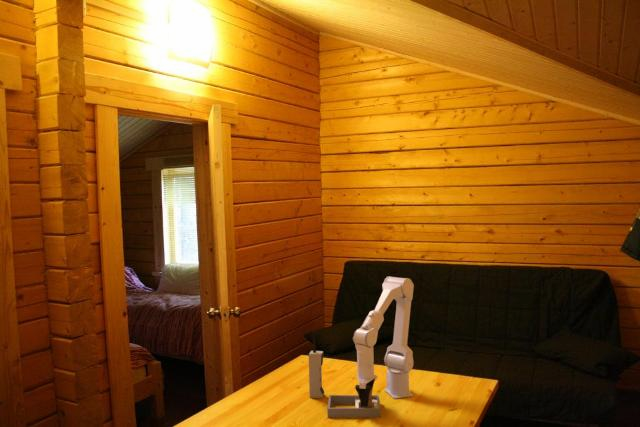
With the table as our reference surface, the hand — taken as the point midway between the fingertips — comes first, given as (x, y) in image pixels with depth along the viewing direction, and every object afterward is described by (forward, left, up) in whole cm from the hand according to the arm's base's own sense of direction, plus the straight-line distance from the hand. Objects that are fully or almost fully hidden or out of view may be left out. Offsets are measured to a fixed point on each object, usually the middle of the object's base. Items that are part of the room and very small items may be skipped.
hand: (366, 401), depth 181 cm
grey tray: (-1, -4, -3) cm, 5 cm away
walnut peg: (0, 0, -3) cm, 3 cm away
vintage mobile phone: (-18, -13, -3) cm, 22 cm away
